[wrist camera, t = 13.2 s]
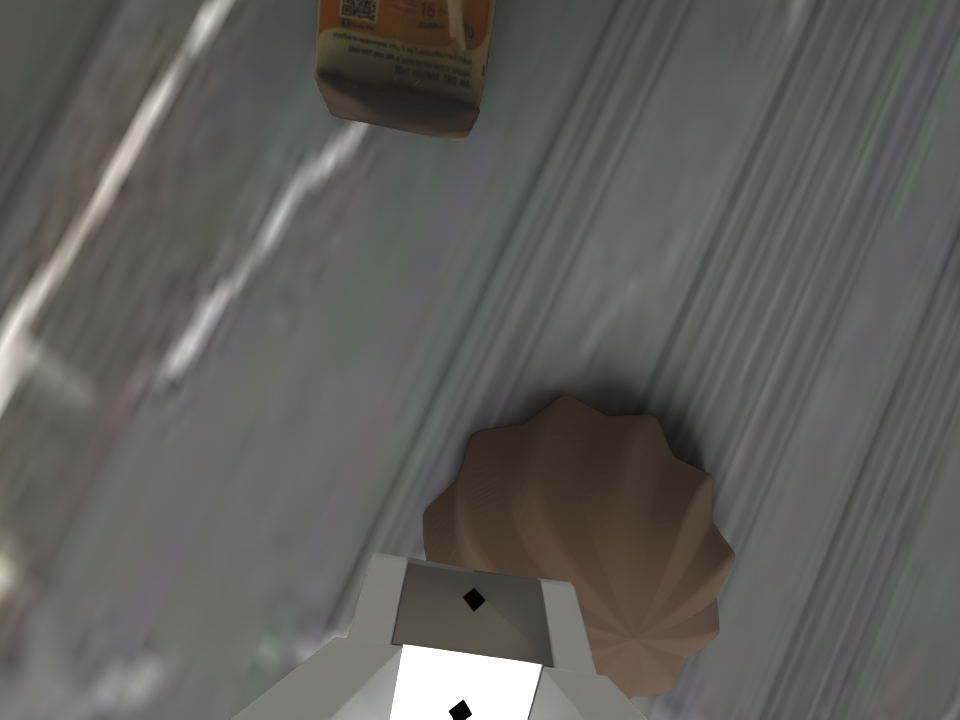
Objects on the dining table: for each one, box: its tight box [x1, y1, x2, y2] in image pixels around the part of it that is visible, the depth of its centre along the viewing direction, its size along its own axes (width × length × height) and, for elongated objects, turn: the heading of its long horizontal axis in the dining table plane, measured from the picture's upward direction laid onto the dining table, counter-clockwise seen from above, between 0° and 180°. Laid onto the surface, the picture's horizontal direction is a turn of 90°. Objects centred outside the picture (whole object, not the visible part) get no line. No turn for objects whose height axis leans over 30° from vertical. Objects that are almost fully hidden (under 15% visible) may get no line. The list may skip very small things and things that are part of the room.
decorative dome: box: [423, 396, 735, 699], centre depth 30 cm, size 19×20×10 cm
